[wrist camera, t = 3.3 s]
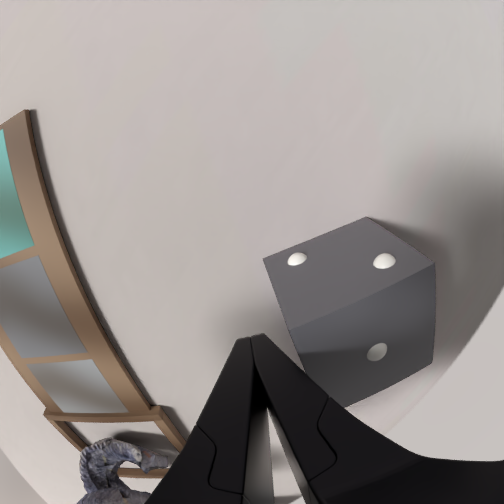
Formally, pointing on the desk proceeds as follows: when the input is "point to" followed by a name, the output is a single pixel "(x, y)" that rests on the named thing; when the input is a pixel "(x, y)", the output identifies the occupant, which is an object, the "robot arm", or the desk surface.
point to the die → (357, 308)
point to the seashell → (114, 471)
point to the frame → (142, 416)
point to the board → (50, 296)
